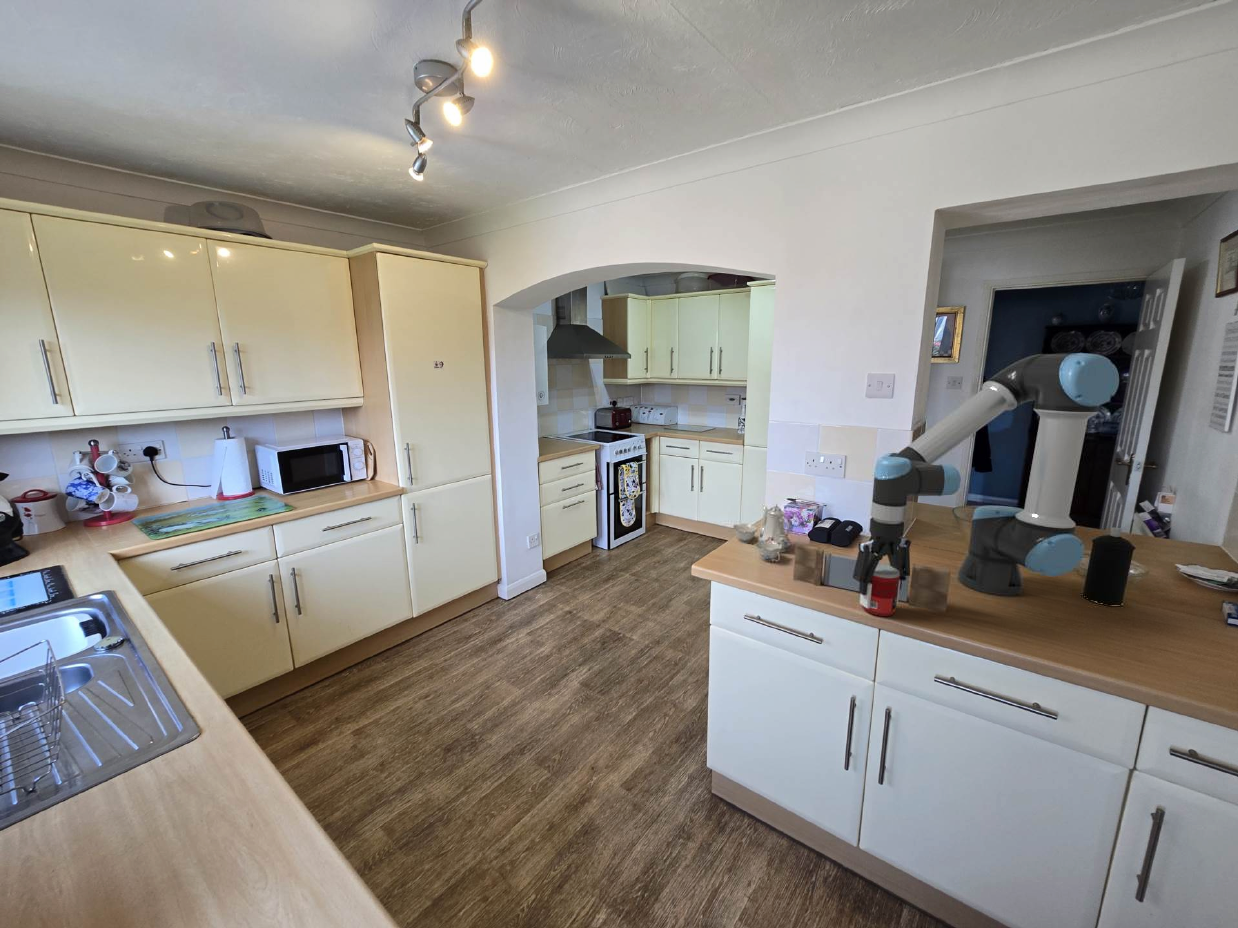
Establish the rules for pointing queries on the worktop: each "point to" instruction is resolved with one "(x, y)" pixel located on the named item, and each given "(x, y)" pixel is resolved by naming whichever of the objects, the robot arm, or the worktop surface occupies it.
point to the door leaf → (849, 574)
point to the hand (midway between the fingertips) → (878, 603)
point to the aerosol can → (1108, 568)
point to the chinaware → (767, 534)
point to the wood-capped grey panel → (924, 588)
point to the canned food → (884, 590)
